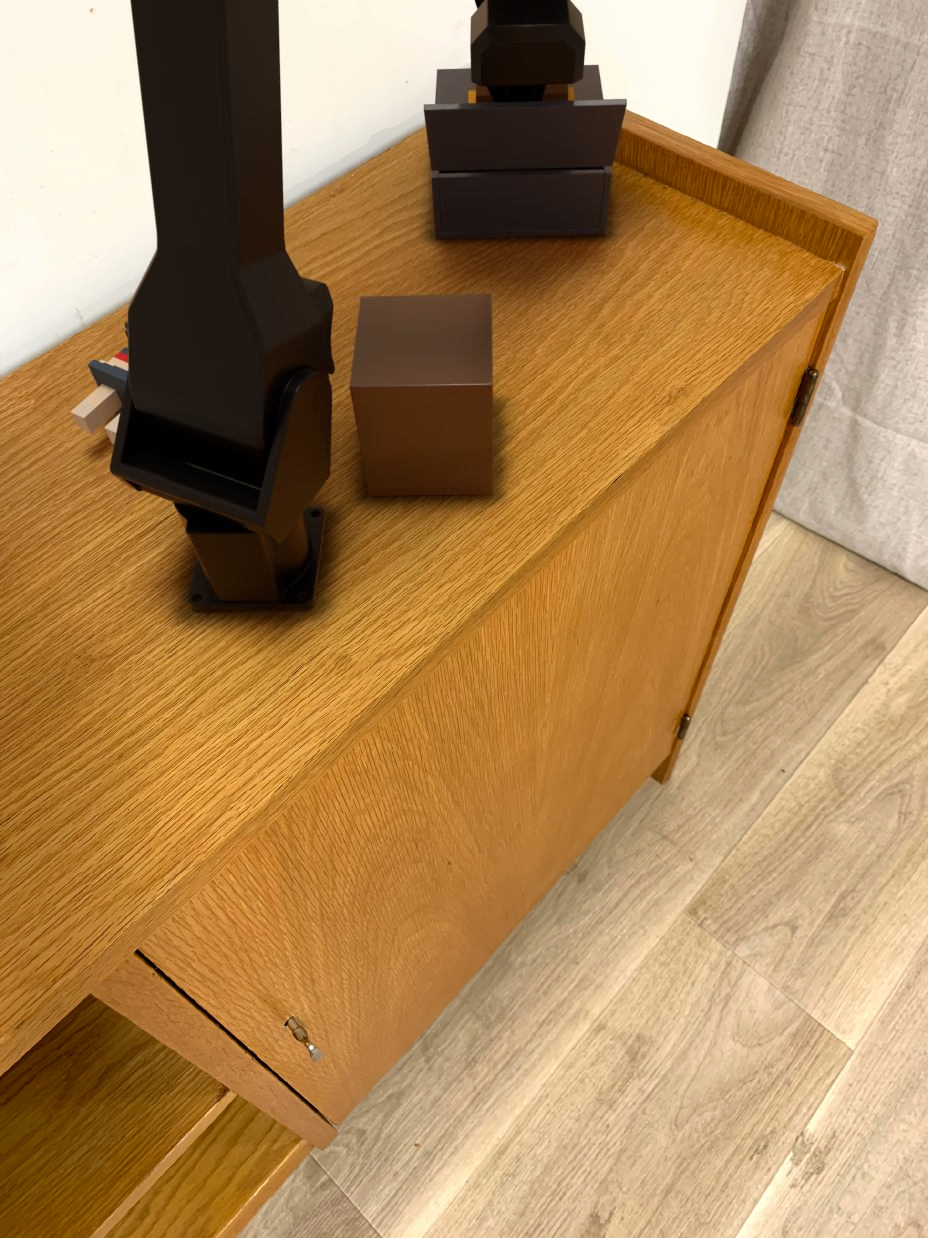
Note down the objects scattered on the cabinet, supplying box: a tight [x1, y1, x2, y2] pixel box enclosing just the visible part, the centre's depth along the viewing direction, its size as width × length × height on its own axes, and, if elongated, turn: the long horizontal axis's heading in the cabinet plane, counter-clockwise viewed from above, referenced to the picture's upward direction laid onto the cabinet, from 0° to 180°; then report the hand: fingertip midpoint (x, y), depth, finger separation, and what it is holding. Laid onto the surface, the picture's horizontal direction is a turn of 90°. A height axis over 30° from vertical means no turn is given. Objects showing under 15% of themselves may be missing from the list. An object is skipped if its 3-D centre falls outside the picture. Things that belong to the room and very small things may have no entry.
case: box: [430, 64, 613, 239], centre depth 64 cm, size 13×12×5 cm
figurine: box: [70, 320, 128, 445], centre depth 54 cm, size 9×4×15 cm
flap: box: [423, 98, 628, 172], centre depth 55 cm, size 6×12×1 cm
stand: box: [348, 293, 495, 497], centre depth 48 cm, size 7×7×8 cm
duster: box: [469, 84, 574, 103], centre depth 59 cm, size 7×4×3 cm, turn 89°
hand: (520, 130), depth 60 cm, fingers closed on duster, 4 cm apart
